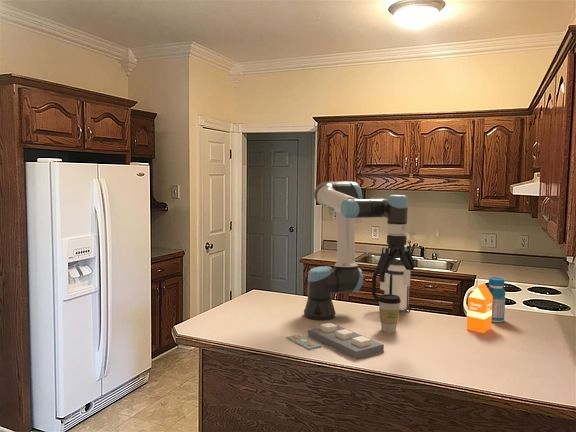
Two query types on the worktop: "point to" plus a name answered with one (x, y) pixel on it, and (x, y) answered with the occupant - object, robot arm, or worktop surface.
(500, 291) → the beverage bottle
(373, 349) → the board
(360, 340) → the button right
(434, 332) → the worktop surface
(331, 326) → the button left
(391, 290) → the coffee press
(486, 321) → the orange juice
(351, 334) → the button middle
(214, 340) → the worktop surface
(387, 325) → the coffee cup
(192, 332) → the worktop surface
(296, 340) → the card
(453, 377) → the worktop surface
